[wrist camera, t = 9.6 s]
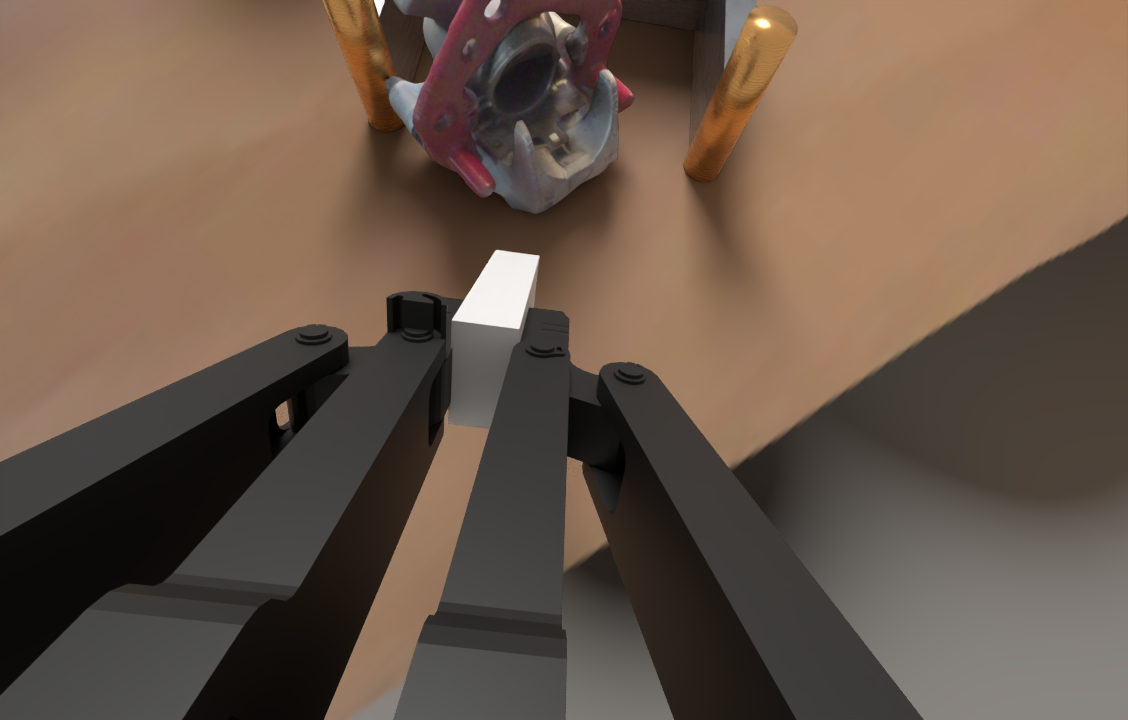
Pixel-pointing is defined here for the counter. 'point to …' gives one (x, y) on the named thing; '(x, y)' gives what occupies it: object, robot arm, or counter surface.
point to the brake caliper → (516, 95)
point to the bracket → (701, 3)
